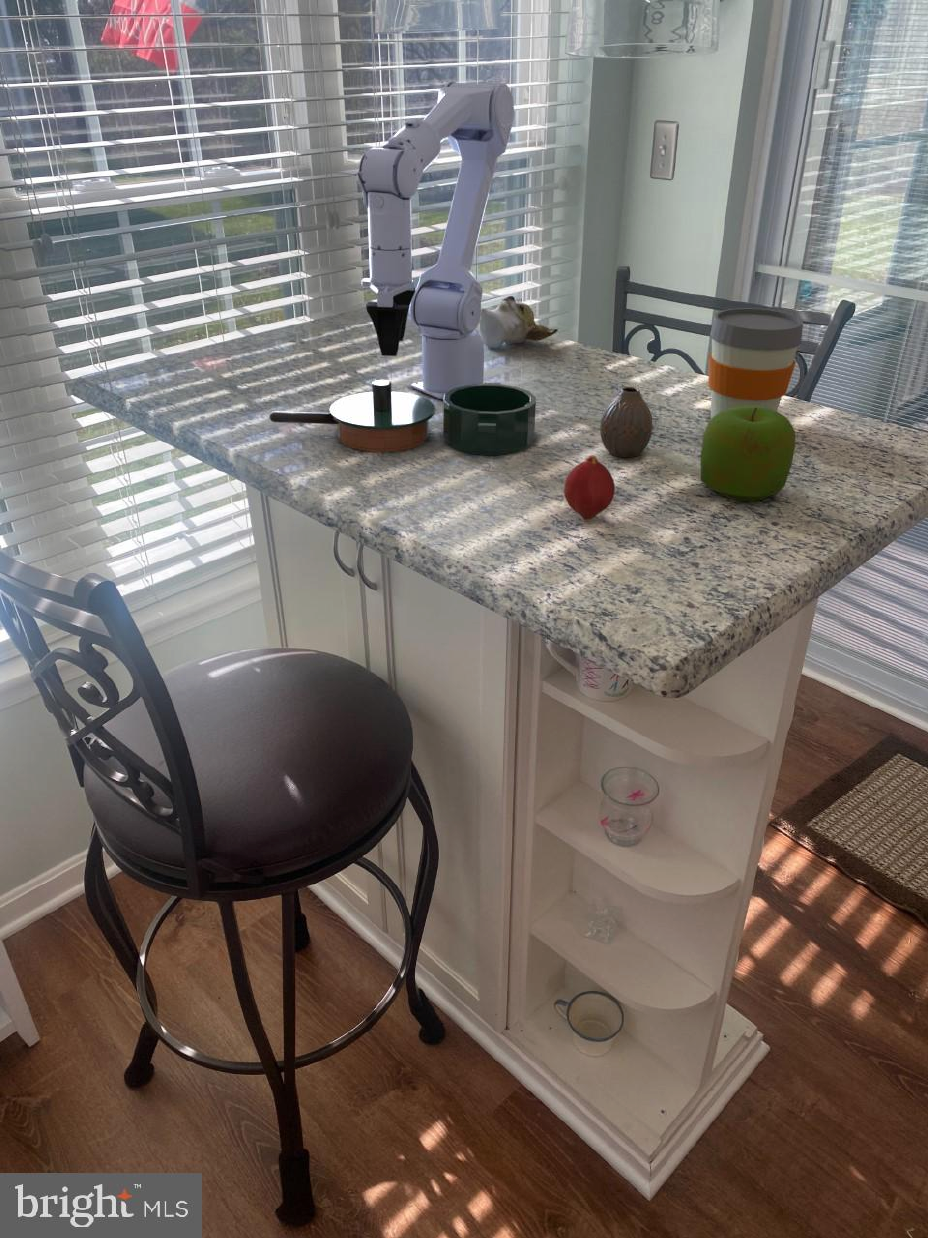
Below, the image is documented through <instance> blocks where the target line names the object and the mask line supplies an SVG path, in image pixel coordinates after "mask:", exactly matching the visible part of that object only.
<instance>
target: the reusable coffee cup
mask: <svg viewBox="0 0 928 1238" xmlns="http://www.w3.org/2000/svg"><path fill="white" fill-rule="evenodd" d="M803 327H804V321H803V319H802V318H800V316H797V315H796V314H792V313H788V312H785V311H780V310H775V309H768V308H767V309H766V308H755V307H738V308H736V307H735V308H728V309H723V310H719V311H717V312H716V313H715V314H714V316H713V322H712V325H711V330H710V333H709V336H710V338H711V352H710V353H709V355H708V388H709V389H710V390H711V391H710V420H711V419H712V418H713V417H714V416H715V415H717V414H718V413H720V412H721V411H724V410H727V409H730V408H735V407H741V406H759V407H764V408H769V409H772V410H774V411H776V412H778V410H779V407H780V403H781V400H782V398H783V397H784V396H785V395H786V394H787V392H788V389H789V385H790V382H791V378H792V377H793V372H794V369H795V367H796V363H797V362H796V360H795V357H796V354H797V351H798V347H800V345H802V340H803V330H804V329H803Z"/></svg>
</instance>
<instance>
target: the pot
mask: <svg viewBox="0 0 928 1238" xmlns="http://www.w3.org/2000/svg"><path fill="white" fill-rule="evenodd" d="M442 400H443V402H442V403H443V405H442V408H443V409H442V411H443V413H442V414H443V415H442V417H443V418H442V419H443V423H442V424H443V425H442V426H443V428H442V430H443V431H442V432H443V434H442V435H443V440H444V443H445V444H446V445H447V446H448V447H450V448H451V449H454V450H456V451H458V452H462V453H465V454H471V455H477V456H505V455H506V456H507V455H512V454H517V453H521V452H523V451H526V450H527V449H529V448H530V447H531V446H532V445H533V444H534V442H535V430H536V429H535V428H536V427H535V426H536V408H537V407H536V405H537V397H536V396H535V394H533V393H532V392H531V391H529V390H527V389H524V388H521V387H518V386H513V385H507V384H501V382H483V384H475V385H466V386H462V387H458V388H454V389H452V390H450V391H449V392H447V393H446V394H445V396H444V399H442Z"/></svg>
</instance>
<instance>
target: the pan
mask: <svg viewBox="0 0 928 1238" xmlns="http://www.w3.org/2000/svg"><path fill="white" fill-rule="evenodd" d="M429 421H430V419H429V420H428V421H426V422H424V423H421V424H418V425H415V426H411V427H406V428H400V429H390V430H372V429H361V428H355V427H351V426H347V425H344V424H341V423H339V422H337V424H336V426H337V435H338V439H339V441H340V443H342V444H343V445H345V446H347V447H348V448H352V449H355V450H360V451H365V452H375V453H385V452H386V453H387V452H388V453H389V452H399V451H405V450H409V449H413V448H415V447H418V446H420V445H422V444H423V443H425V442H426V441H427V440H428V438H429V432H430V431H429V430H430V429H429V426H430V425H429Z"/></svg>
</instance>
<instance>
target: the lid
mask: <svg viewBox="0 0 928 1238" xmlns="http://www.w3.org/2000/svg"><path fill="white" fill-rule="evenodd" d="M371 384H372V385H371V386H372V391H367V392H361V393H356V394H350V395H347V396H344V397H341V398H339V399H337V400H336V401H334V402H333V403H331V405H330V407H329V413H330V415H331V417H332V418H333V419H334V420H335V421H337V422H339V423H341V424H344V425H347V426H351V427H355V428H361V429H372V430H390V429H400V428H406V427H411V426H415V425H418V424H421V423H424V422H426V421H428V420H429V421H430V420H431V419H432V418H433V417H434V416H435V414H436V406H435V404H434V403H433V402H432V401H431V400H429V399H428V398H425V397H423V396H420V395H417V394H413V393H408V392H401V391H392V381H390V380H387V379H377V380H374V381H372V383H371ZM429 421H428V422H429Z"/></svg>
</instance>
